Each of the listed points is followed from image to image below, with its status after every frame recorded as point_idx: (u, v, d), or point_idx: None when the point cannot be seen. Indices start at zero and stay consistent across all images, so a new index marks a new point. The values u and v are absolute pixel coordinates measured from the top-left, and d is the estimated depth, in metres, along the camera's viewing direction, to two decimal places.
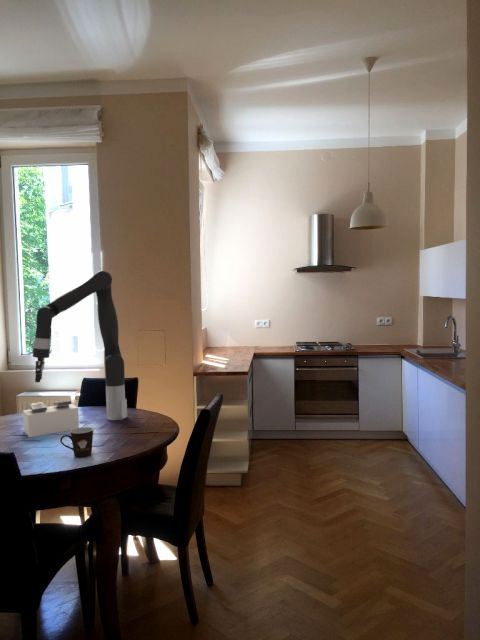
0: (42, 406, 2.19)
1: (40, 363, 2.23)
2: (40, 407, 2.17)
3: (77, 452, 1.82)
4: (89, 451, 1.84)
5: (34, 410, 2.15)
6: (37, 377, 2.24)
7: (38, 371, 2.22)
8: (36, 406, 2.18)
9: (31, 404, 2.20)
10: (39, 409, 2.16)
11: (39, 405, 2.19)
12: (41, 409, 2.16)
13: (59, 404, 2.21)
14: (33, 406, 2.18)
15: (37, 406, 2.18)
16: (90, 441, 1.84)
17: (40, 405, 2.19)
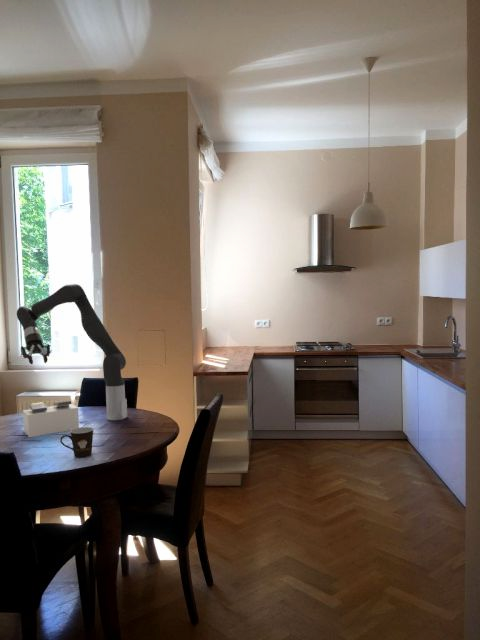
0: (42, 406, 2.19)
1: (21, 349, 2.36)
2: (40, 407, 2.17)
3: (77, 452, 1.82)
4: (89, 451, 1.84)
5: (34, 410, 2.15)
6: None
7: (24, 355, 2.35)
8: (36, 406, 2.18)
9: (31, 404, 2.20)
10: (39, 409, 2.16)
11: (39, 405, 2.19)
12: (41, 409, 2.16)
13: (59, 404, 2.21)
14: (33, 406, 2.18)
15: (37, 406, 2.18)
16: (90, 441, 1.84)
17: (40, 405, 2.19)
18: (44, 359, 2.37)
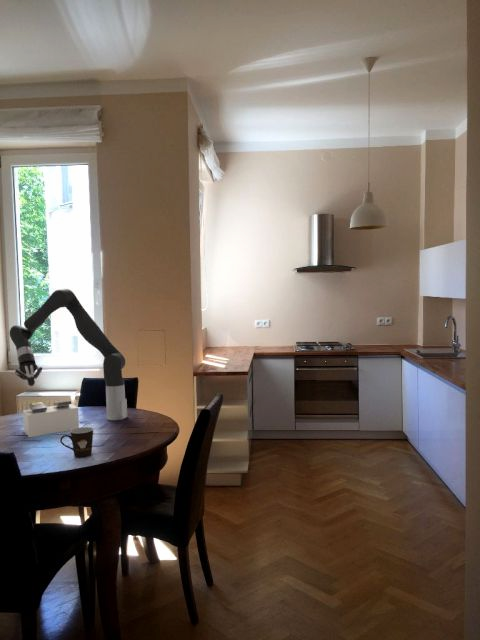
0: (42, 406, 2.19)
1: (16, 372, 2.30)
2: (40, 407, 2.17)
3: (77, 452, 1.82)
4: (89, 451, 1.84)
5: (34, 410, 2.15)
6: (28, 381, 2.29)
7: (23, 376, 2.30)
8: (36, 406, 2.18)
9: (31, 404, 2.20)
10: (39, 409, 2.16)
11: (39, 405, 2.19)
12: (41, 409, 2.16)
13: (59, 404, 2.21)
14: (33, 406, 2.18)
15: (37, 406, 2.18)
16: (90, 441, 1.84)
17: (40, 405, 2.19)
18: None
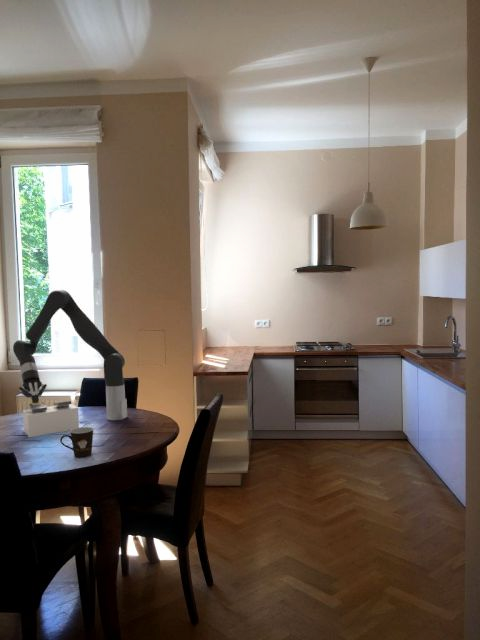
0: (42, 406, 2.19)
1: (20, 390, 2.23)
2: (40, 407, 2.17)
3: (77, 452, 1.82)
4: (89, 451, 1.84)
5: (34, 410, 2.15)
6: (32, 399, 2.23)
7: (27, 394, 2.23)
8: (36, 406, 2.18)
9: (31, 404, 2.20)
10: (39, 409, 2.16)
11: (39, 405, 2.19)
12: (41, 409, 2.16)
13: (59, 404, 2.21)
14: (33, 406, 2.18)
15: (37, 406, 2.18)
16: (90, 441, 1.84)
17: (40, 405, 2.19)
18: None
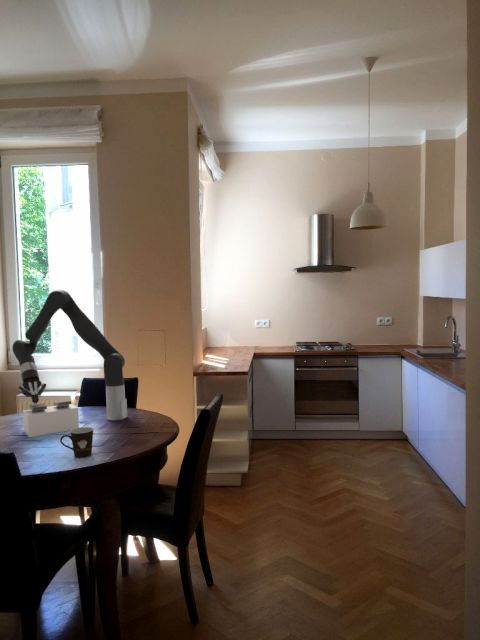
0: (42, 405, 2.19)
1: (20, 389, 2.23)
2: (40, 406, 2.17)
3: (77, 452, 1.82)
4: (89, 451, 1.84)
5: (34, 408, 2.14)
6: None
7: (26, 393, 2.23)
8: (36, 406, 2.18)
9: (31, 405, 2.20)
10: (39, 407, 2.16)
11: (39, 405, 2.19)
12: (41, 407, 2.16)
13: (59, 404, 2.21)
14: (33, 406, 2.18)
15: (37, 406, 2.18)
16: (90, 441, 1.84)
17: (40, 405, 2.19)
18: None
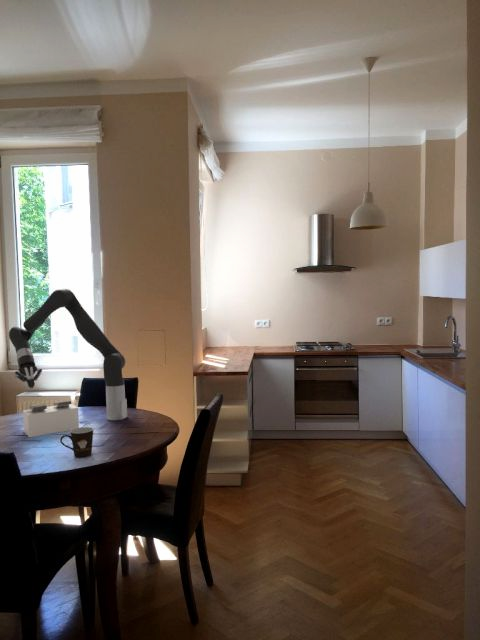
0: (42, 405, 2.19)
1: (16, 374, 2.28)
2: (40, 406, 2.17)
3: (77, 452, 1.82)
4: (89, 451, 1.84)
5: (34, 408, 2.14)
6: (27, 383, 2.28)
7: (22, 378, 2.29)
8: (36, 406, 2.18)
9: (31, 405, 2.20)
10: (39, 407, 2.16)
11: (39, 405, 2.19)
12: (41, 407, 2.16)
13: (59, 404, 2.21)
14: (33, 406, 2.18)
15: (37, 405, 2.18)
16: (90, 441, 1.84)
17: (40, 405, 2.19)
18: None
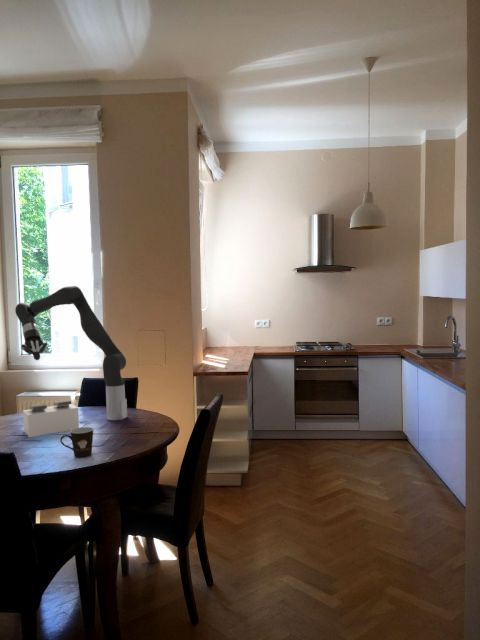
0: (42, 405, 2.19)
1: (22, 347, 2.38)
2: (40, 405, 2.17)
3: (77, 452, 1.82)
4: (89, 451, 1.84)
5: (34, 408, 2.14)
6: (33, 356, 2.37)
7: (29, 351, 2.38)
8: (36, 405, 2.18)
9: (31, 405, 2.20)
10: (39, 407, 2.16)
11: (39, 405, 2.19)
12: (41, 407, 2.16)
13: (59, 404, 2.21)
14: (33, 406, 2.18)
15: (37, 405, 2.18)
16: (90, 441, 1.84)
17: (40, 405, 2.19)
18: None
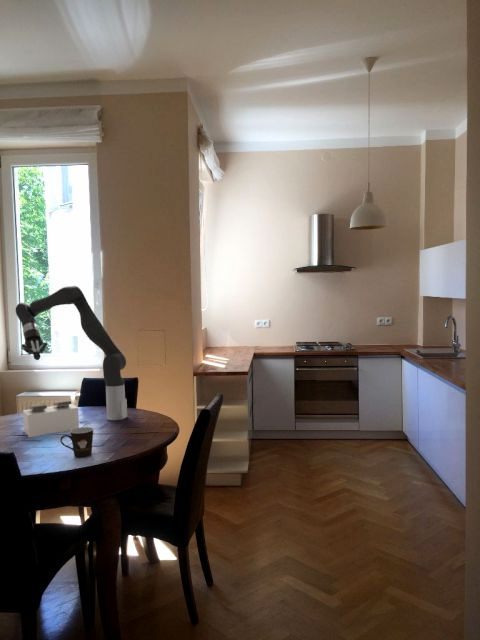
0: (42, 405, 2.19)
1: (22, 347, 2.38)
2: (40, 405, 2.17)
3: (77, 452, 1.82)
4: (89, 451, 1.84)
5: (34, 408, 2.14)
6: (33, 355, 2.38)
7: (29, 351, 2.38)
8: (36, 405, 2.18)
9: (31, 405, 2.20)
10: (39, 407, 2.16)
11: (39, 405, 2.19)
12: (41, 407, 2.16)
13: (59, 404, 2.21)
14: (33, 406, 2.18)
15: (37, 405, 2.18)
16: (90, 441, 1.84)
17: (40, 405, 2.19)
18: None
